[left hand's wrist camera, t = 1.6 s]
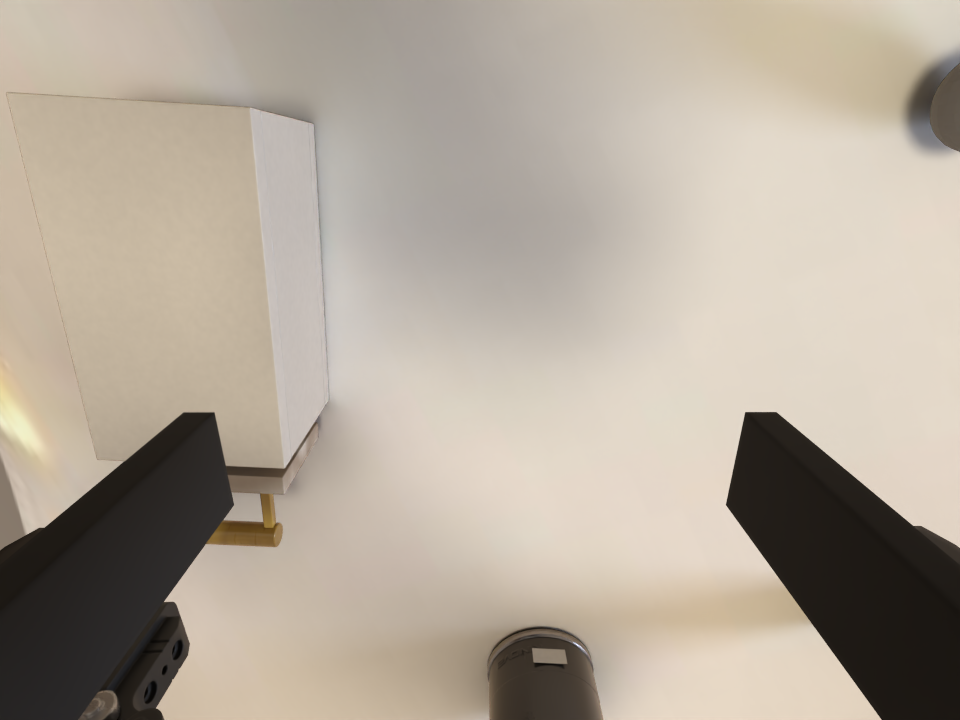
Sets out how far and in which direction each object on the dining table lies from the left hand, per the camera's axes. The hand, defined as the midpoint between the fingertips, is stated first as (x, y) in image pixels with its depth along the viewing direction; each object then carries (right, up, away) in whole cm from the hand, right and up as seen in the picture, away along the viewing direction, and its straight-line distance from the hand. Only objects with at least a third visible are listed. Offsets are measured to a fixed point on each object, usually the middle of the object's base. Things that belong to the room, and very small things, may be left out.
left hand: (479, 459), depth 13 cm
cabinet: (-16, +8, +20) cm, 27 cm away
